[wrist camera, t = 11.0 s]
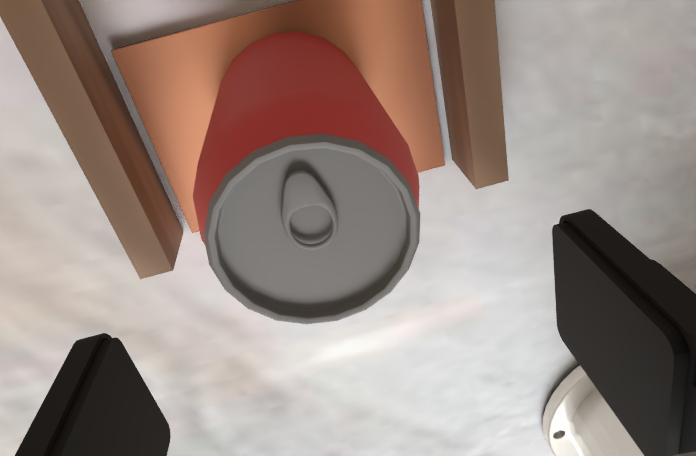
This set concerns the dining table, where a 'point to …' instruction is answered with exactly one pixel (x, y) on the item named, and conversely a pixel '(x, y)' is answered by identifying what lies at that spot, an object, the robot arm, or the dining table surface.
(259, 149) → the beer can
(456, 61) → the frame
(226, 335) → the dining table surface
